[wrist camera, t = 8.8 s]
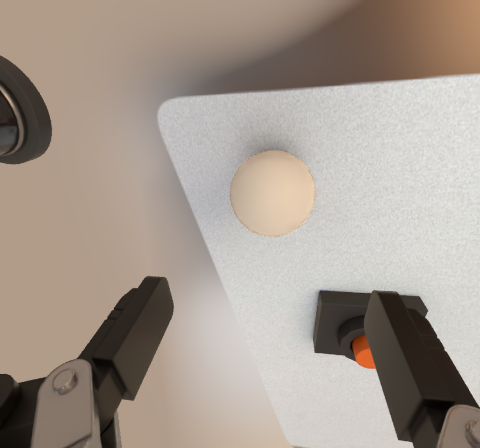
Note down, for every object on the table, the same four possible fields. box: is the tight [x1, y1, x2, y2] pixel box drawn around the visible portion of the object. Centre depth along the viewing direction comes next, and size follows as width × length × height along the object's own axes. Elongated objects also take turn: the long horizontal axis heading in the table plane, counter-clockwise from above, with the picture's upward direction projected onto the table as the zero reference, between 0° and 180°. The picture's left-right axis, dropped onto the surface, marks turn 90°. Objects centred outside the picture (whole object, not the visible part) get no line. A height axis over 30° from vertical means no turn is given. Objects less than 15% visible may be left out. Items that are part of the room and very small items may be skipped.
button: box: [352, 335, 376, 369], centre depth 31 cm, size 4×4×2 cm
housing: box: [313, 291, 428, 361], centre depth 33 cm, size 12×10×4 cm
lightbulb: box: [230, 150, 316, 237], centre depth 21 cm, size 6×6×11 cm
